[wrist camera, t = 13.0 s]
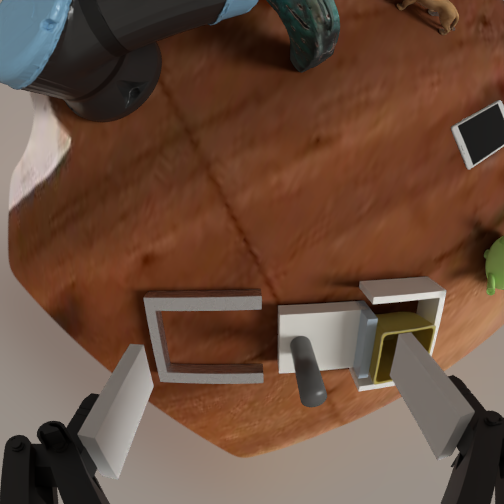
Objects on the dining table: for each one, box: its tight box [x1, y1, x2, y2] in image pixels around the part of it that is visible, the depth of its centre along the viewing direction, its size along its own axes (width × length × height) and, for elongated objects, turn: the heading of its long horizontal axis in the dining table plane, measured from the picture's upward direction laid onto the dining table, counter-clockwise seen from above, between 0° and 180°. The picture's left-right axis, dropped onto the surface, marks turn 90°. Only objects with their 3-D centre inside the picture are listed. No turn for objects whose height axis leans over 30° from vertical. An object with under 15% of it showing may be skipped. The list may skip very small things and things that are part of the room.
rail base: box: [144, 289, 263, 384], centre depth 45 cm, size 16×15×2 cm
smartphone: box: [451, 100, 504, 170], centre depth 38 cm, size 8×1×15 cm
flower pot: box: [369, 312, 436, 385], centre depth 42 cm, size 9×9×9 cm
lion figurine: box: [396, 0, 459, 35], centre depth 28 cm, size 15×5×9 cm, turn 79°
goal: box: [349, 277, 446, 391], centre depth 44 cm, size 12×16×6 cm
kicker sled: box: [278, 301, 378, 407], centre depth 39 cm, size 13×10×15 cm
